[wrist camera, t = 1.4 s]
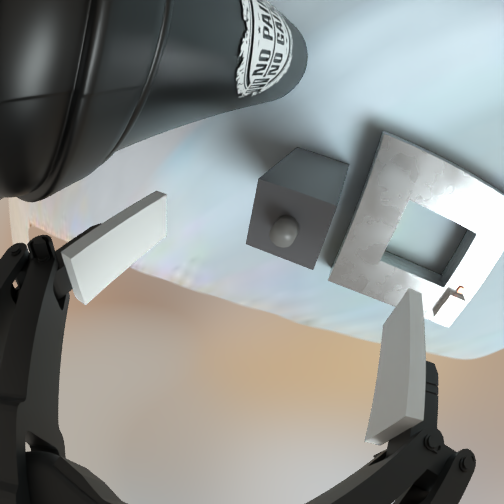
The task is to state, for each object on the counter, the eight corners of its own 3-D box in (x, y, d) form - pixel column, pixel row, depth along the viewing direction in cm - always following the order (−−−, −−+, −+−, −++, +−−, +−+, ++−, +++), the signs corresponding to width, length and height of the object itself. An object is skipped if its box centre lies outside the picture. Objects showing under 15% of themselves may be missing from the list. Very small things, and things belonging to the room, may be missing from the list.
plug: (285, 194, 25) (237, 253, 17) (297, 147, 22) (250, 185, 14) (333, 211, 24) (308, 281, 16) (349, 164, 21) (333, 215, 13)
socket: (331, 268, 27) (326, 285, 25) (382, 130, 19) (384, 135, 17) (446, 313, 24) (448, 332, 22) (515, 201, 16) (527, 214, 14)
